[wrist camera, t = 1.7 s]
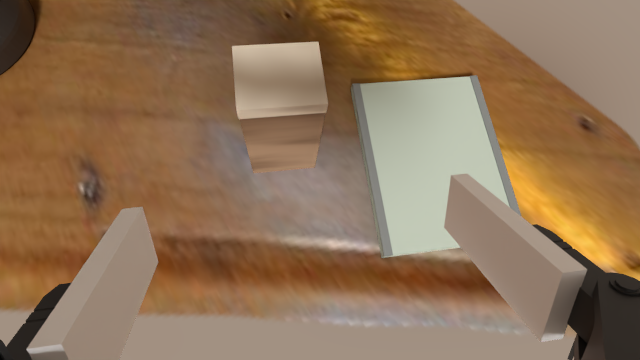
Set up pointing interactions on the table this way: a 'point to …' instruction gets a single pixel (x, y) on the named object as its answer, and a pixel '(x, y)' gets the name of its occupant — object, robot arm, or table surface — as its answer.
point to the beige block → (280, 103)
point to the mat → (424, 156)
